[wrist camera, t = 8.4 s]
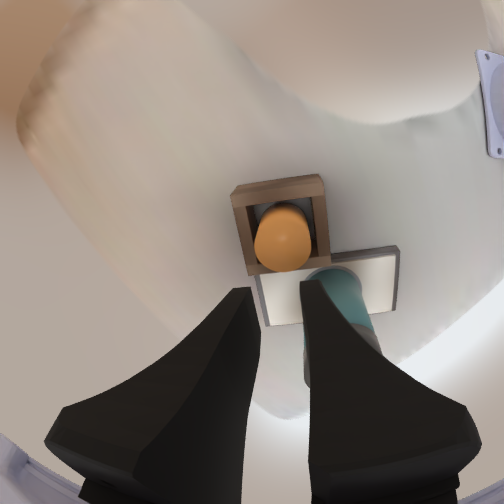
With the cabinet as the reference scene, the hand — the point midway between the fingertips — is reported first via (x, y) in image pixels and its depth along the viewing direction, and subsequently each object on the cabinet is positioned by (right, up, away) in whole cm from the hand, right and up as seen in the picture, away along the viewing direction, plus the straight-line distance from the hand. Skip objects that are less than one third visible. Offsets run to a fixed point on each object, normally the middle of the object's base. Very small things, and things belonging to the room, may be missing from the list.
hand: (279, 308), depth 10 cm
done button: (+1, +3, +7) cm, 8 cm away
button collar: (+1, +4, +8) cm, 9 cm away
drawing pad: (+5, 0, +10) cm, 11 cm away
